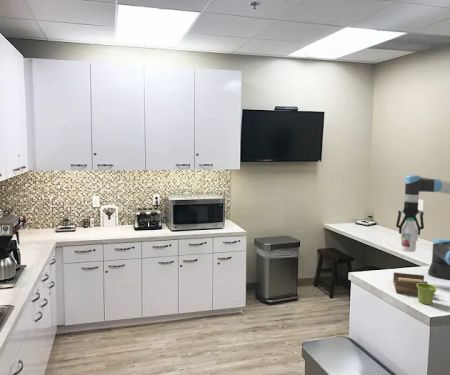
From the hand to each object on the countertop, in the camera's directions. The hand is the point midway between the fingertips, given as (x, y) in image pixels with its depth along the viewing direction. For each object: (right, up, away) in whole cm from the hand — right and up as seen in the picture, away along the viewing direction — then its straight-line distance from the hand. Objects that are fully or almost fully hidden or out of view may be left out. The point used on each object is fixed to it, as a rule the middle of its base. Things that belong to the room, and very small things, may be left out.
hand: (409, 239), depth 241 cm
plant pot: (-7, -28, -33) cm, 44 cm away
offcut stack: (-8, -27, -19) cm, 34 cm away
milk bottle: (0, -7, +1) cm, 7 cm away
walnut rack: (-6, -26, -14) cm, 30 cm away
